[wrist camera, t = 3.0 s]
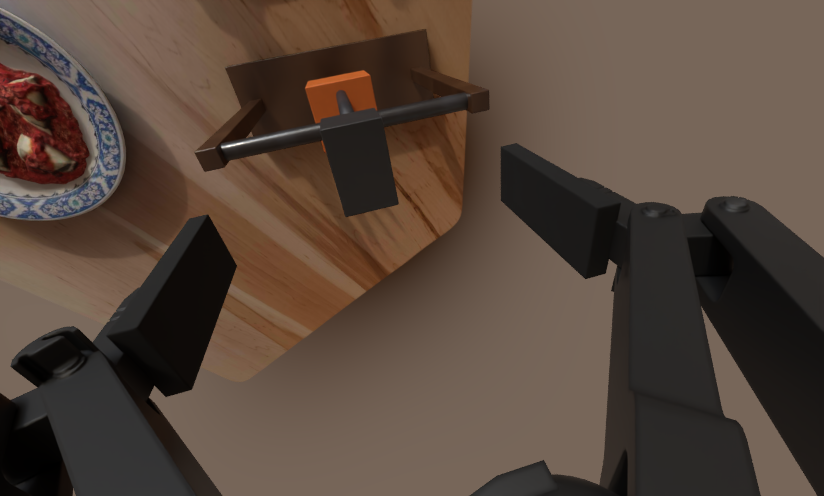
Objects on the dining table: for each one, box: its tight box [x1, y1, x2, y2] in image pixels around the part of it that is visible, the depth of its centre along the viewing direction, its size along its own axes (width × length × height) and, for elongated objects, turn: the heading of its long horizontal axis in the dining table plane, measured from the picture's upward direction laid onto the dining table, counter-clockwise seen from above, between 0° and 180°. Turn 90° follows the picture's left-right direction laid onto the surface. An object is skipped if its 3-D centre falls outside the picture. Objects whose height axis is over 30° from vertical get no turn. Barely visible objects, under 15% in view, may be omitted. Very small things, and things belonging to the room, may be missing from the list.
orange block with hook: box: [305, 70, 399, 217], centre depth 28 cm, size 6×6×22 cm
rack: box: [195, 29, 489, 172], centre depth 37 cm, size 26×10×24 cm, turn 99°
